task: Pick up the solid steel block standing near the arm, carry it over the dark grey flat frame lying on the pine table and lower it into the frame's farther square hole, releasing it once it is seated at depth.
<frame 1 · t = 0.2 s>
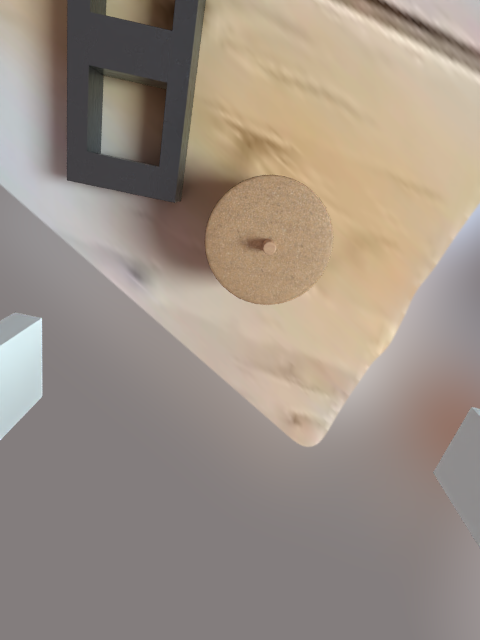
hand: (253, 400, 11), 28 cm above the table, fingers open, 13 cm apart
lidded jar: (265, 231, 36), on the table
dark grey flat frame: (140, 60, 30), on the table
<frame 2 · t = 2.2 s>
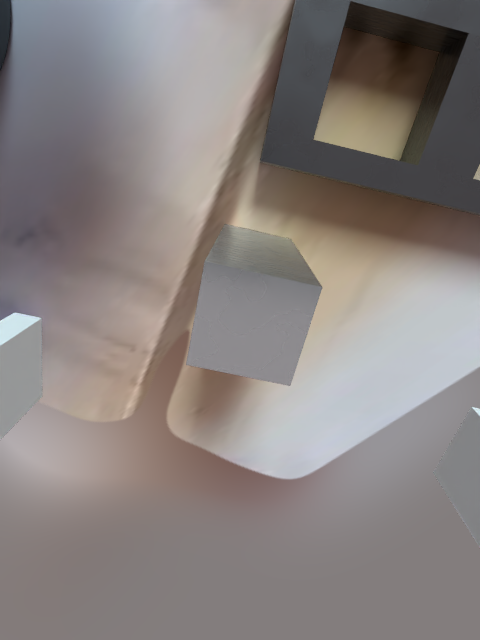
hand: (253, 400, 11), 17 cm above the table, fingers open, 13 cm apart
solid steel block: (250, 264, 26), on the table
dark grey flat frame: (443, 119, 22), on the table
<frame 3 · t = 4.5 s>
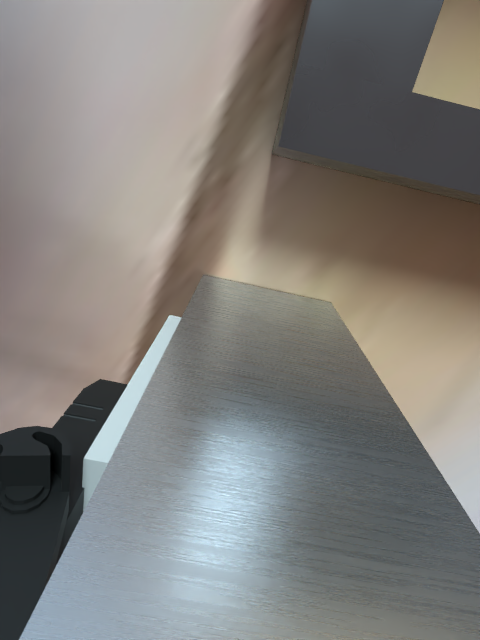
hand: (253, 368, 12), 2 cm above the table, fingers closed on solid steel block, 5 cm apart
solid steel block: (252, 345, 14), on the table, touching gripper
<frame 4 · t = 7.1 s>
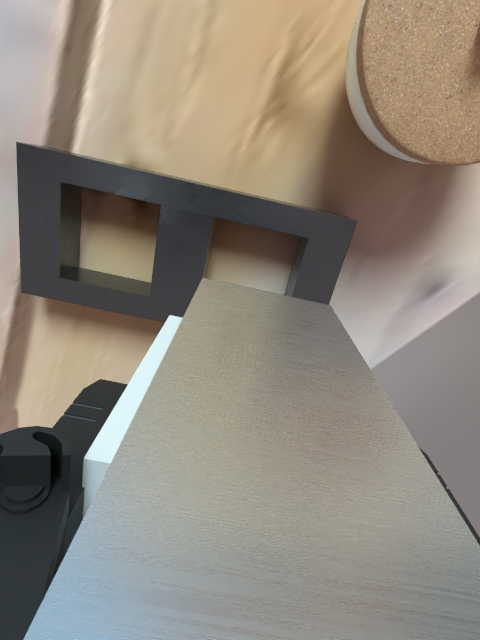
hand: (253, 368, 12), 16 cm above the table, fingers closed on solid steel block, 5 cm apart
solid steel block: (252, 348, 14), point 14 cm above the table, touching gripper
lidded jar: (409, 77, 22), on the table
dark grey flat frame: (187, 250, 27), on the table
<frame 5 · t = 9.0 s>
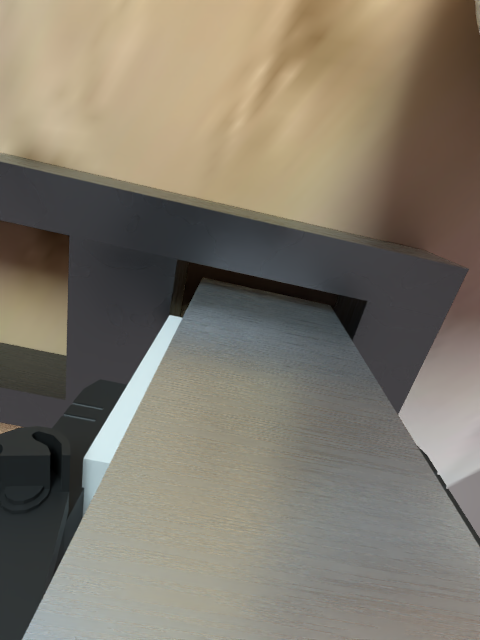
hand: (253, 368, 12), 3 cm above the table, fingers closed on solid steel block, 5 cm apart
solid steel block: (252, 348, 14), point 1 cm above the table, touching gripper
dark grey flat frame: (140, 307, 15), on the table
when the fingers open (3 cm above the table, at t = 10.6 s): solid steel block stays where it is, resting in dark grey flat frame.
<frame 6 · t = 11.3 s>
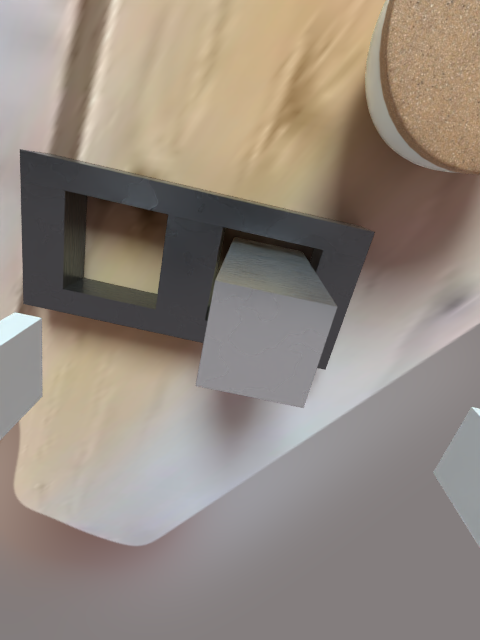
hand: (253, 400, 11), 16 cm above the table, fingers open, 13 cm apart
solid steel block: (260, 277, 26), resting in dark grey flat frame
lidded jar: (431, 81, 21), on the table
dark grey flat frame: (195, 260, 25), on the table
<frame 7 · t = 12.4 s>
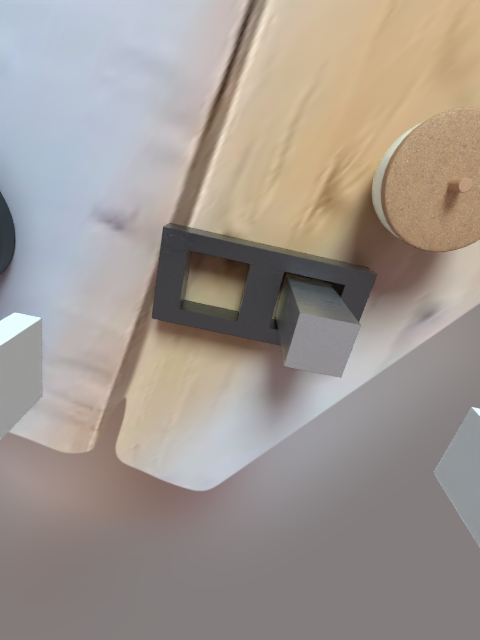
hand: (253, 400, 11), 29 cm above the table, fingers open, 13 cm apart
solid steel block: (301, 299, 39), resting in dark grey flat frame
lidded jar: (411, 183, 35), on the table
dark grey flat frame: (259, 288, 39), on the table
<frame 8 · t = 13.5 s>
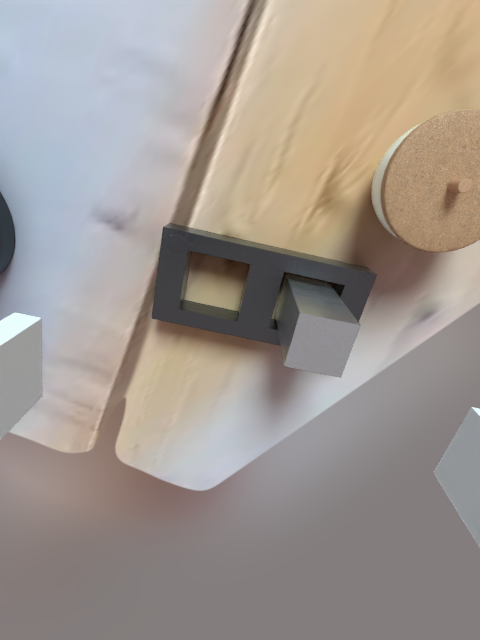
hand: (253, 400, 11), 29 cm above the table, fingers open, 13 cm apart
solid steel block: (301, 299, 39), resting in dark grey flat frame
lidded jar: (410, 184, 35), on the table
dark grey flat frame: (259, 288, 39), on the table
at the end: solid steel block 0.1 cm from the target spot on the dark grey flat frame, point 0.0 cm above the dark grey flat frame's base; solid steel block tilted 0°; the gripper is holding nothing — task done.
